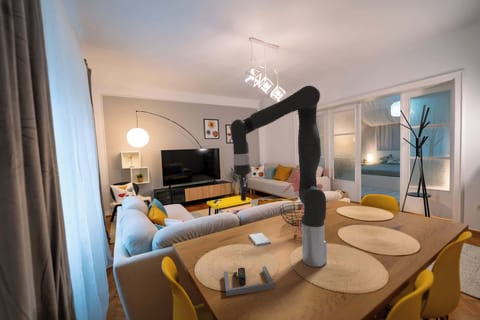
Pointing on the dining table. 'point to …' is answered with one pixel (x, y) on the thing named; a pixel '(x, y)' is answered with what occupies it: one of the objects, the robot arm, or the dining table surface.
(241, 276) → the wireless earbuds
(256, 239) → the hard drive
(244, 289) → the slot rails
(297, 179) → the figurine
